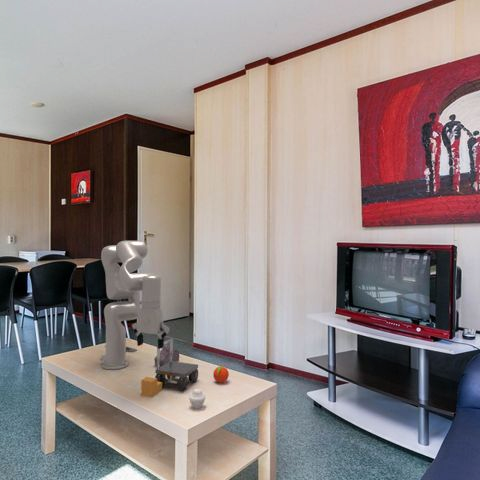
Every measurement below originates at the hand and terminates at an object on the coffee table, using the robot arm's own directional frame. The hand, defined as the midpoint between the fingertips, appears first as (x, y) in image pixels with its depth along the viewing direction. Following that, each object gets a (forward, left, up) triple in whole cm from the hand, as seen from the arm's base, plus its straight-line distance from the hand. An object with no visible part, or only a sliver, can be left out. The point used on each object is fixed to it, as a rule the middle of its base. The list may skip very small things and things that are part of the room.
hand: (150, 346), depth 159 cm
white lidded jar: (+24, -4, -20) cm, 31 cm away
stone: (-12, +35, -20) cm, 42 cm away
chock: (+1, +1, -20) cm, 20 cm away
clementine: (+23, +22, -20) cm, 37 cm away
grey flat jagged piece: (-49, +48, -20) cm, 72 cm away
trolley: (+6, +13, -20) cm, 24 cm away
